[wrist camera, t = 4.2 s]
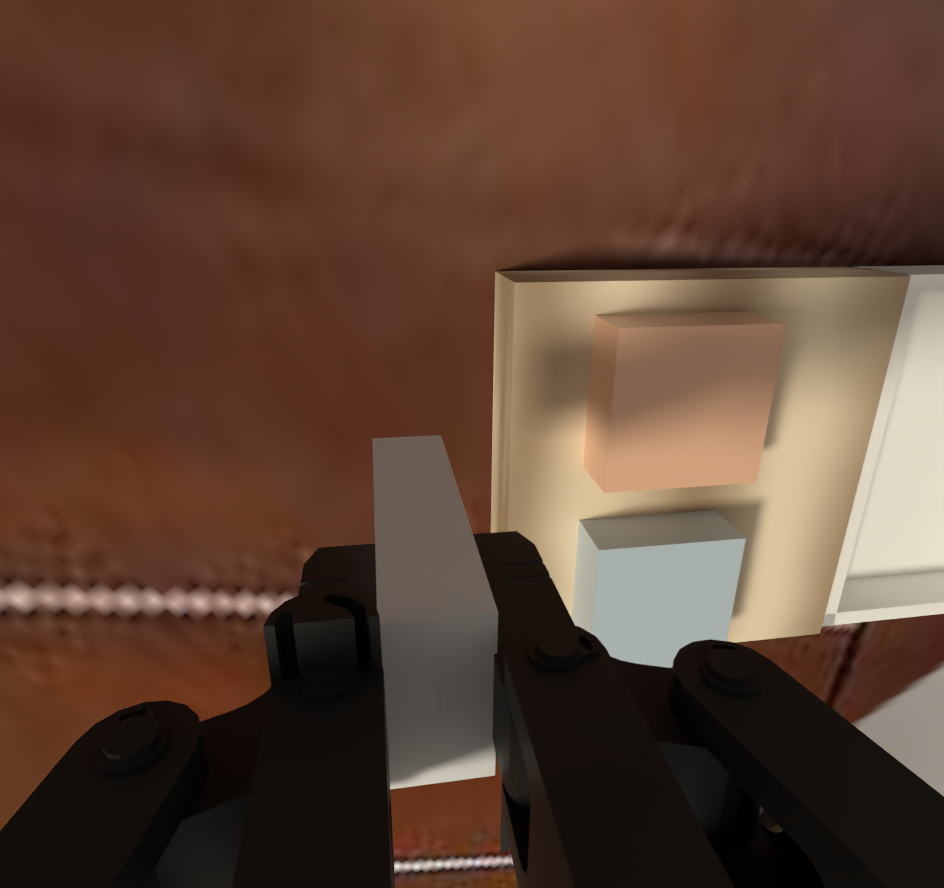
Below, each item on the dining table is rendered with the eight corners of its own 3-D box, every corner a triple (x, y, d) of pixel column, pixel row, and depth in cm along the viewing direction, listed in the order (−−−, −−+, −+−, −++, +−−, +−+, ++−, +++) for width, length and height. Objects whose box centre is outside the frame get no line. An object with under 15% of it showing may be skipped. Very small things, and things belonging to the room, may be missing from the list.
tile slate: (570, 638, 23) (587, 676, 22) (579, 519, 22) (598, 550, 20) (695, 626, 24) (722, 661, 22) (714, 509, 22) (746, 538, 20)
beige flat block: (489, 617, 26) (503, 667, 23) (495, 271, 21) (514, 282, 18) (775, 590, 28) (819, 633, 25) (845, 266, 23) (911, 276, 20)
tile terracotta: (583, 466, 21) (603, 492, 19) (594, 315, 19) (619, 328, 17) (723, 458, 22) (756, 482, 20) (747, 311, 20) (786, 323, 18)
